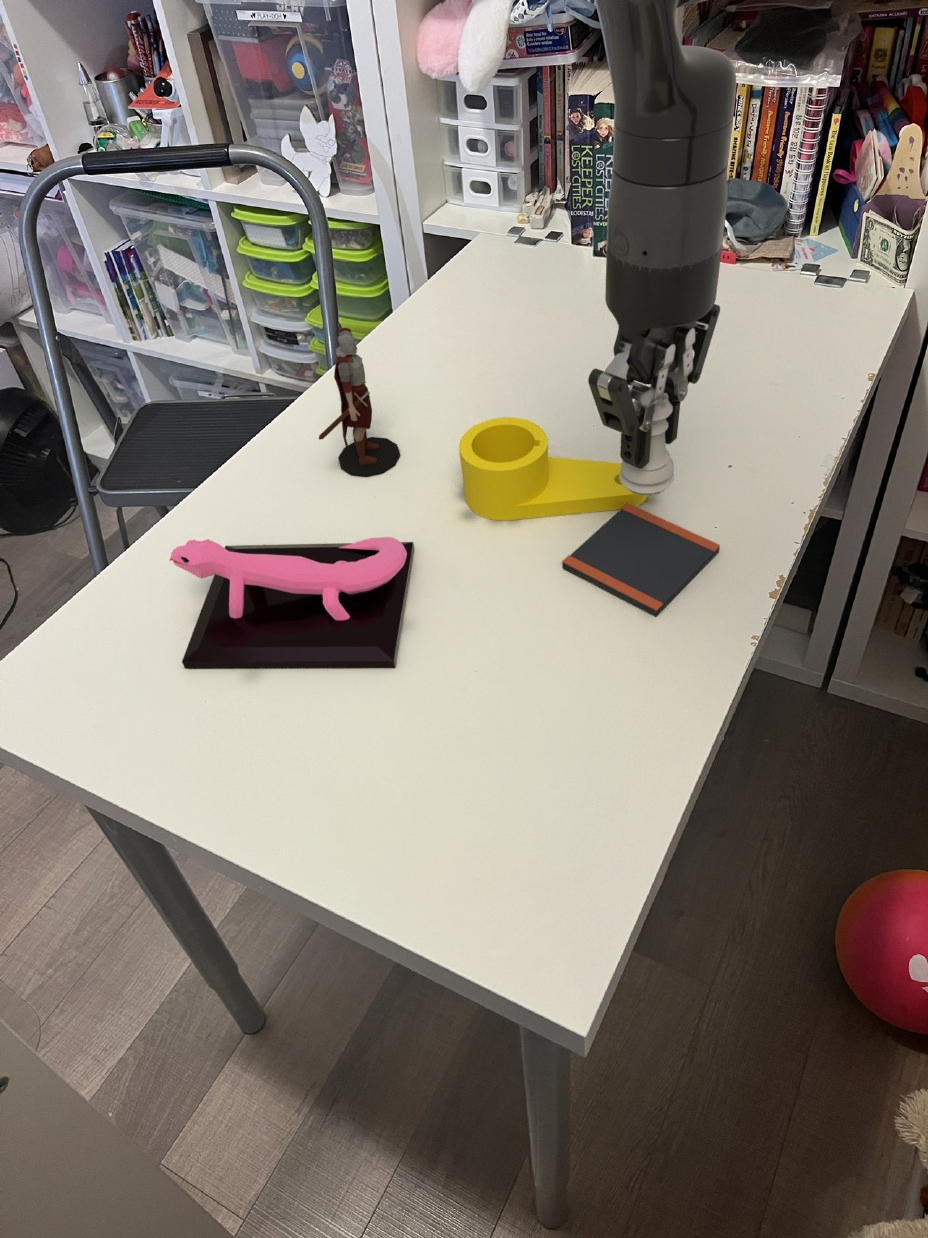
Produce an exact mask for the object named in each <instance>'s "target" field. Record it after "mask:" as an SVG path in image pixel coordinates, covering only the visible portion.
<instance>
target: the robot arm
mask: <svg viewBox="0 0 928 1238" xmlns="http://www.w3.org/2000/svg"><path fill="white" fill-rule="evenodd" d="M706 1H707V0H594V3H595V7H596V10H597V11H596V12H597V15H598V20H599V25H600V29H601V34H602V38H603V43H604V49H605V54H606V55H605V56H606V61H607V65H608V70H609V75H610V81H611V87H612V94H613V103H614V105H613V106H614V107H613V108H614V109H613V110H614V111H613V145H612V149H613V150H612V153H613V154H612V170H611V180H610V187H609V191H608V199H607V215H606V216H607V217H606V219H607V221H606V252H605V253H606V256H605V258H606V259H605V295H604V296H605V297H604V299H605V304H606V308H607V309H608V311H609V312H610V313H611V315H612V316H613V317H614V320H615V321H616V323H617V326H618V329H617V334H616V338H615V341H614V344H613V356H614V358H613V359H612V360H611V361H610V363H609V364H608V365H607V367H606V368H605V370H601V369H599V368H593V369H592V370H591V371H590V373H589V375H588V378H587V382H588V386H589V389H590V391H591V394H592V398H593V400H594V403H595V406H596V409H597V413H598V414H599V417H600V421H601V423H602V426H604V427H607V428H609V429H612V430H614V431H616V432H618V433H620V447H619V448H620V451H619V456H620V459H621V461H622V460H623V461H624V462H625V463H628V464H630V465H632V466H635V467H637V468H640V469H642V468H644V467H645V466H646V465H647V464H648V463H649V459H650V445H651V431H652V426H651V424H652V419H653V414H654V408H655V403H656V402H657V401H659V400H661V399H662V398H663V394H664V393H667V395H668V401H669V402H670V403H671V405H672V406H673V411H672V413H671V414H670V415H669V416H668V417H667V418H666V421H667V422H668V428H667V430H666V431H665V444H666V445H670V444H672V443H673V442H674V441H676V440H677V438H678V433H679V432H678V431H679V422H680V421H679V420H680V411H681V402H683V401H684V400H685V399H686V398H687V395H688V391H689V386H688V385H689V384H693V385H695V384H697V383H698V382H699V380H700V379H701V375H702V372H703V368H704V366H705V363H706V359H707V355H708V352H709V348H710V345H711V342H712V340H713V336H714V332H715V329H716V325H717V323H718V320H719V316H720V313H721V306H720V305H718V304H715V303H716V300H717V292H718V284H719V277H720V268H721V267H720V266H721V258H722V250H723V244H724V235H725V226H726V220H727V219H726V218H727V210H728V209H727V208H728V169H729V167H728V166H729V158H730V148H731V141H732V132H733V125H734V124H733V123H734V115H735V106H736V105H735V104H736V94H737V93H736V92H737V74H736V70H735V67H734V66H735V65H734V64H733V62H732V60H731V59H730V58H729V57H728V56H727V55H726V54H724V53H723V52H721V51H720V50H717V49H713V48H711V47H706V46H705V47H704V46H698V45H684V44H683V45H681V42H680V39H679V35H678V30H677V21H676V16H677V8H681V7H686V6H690V5H693V4H694V5H695V4H697V3H702V2H706ZM649 385H650V386H649ZM633 400H634V401H635V400H638V401H640V402H641V411H640V412H638V411H635V408H634V405H633V402H634V401H633Z"/></svg>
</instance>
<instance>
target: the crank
mask: <svg viewBox="0 0 928 1238" xmlns="http://www.w3.org/2000/svg"><path fill="white" fill-rule="evenodd" d="M458 450H459V451H458V452H459V459H460V466H461V476H462V483H463V492H464V493H463V494H464V499H465V503H466V505H467V506H468V508H469V509H470V510H471V511H472V512H473V513H474V514H476V515H478V516H479V517H482V518H485V519H488V520H493V521H501V522H502V521H504V522H505V521H515V520H516V521H517V520H526V519H535V518H545V517H555V516H557V517H558V516H567V515H576V514H587V513H596V512H597V513H598V512H606V511H616V510H621V508H622V507H623V506H624V505H625V504H626V503H629V504H631V505H633V506H635V507H638V506H641V505H643V503H645V501H646V500H647V499H648V497H649V495H638V494H635V493H632V492H631V491H629V490H628V489H626V488H625V487H624V486H623V484H622V483H621V481H620V479H619V477H620V471H621V463H622V462H609V461H600V460H589V459H580V458H566V457H559V456H558V457H557V456H549V441H548V435H547V433H546V432H545V430H544V429H543V428H542V427H541V426H539V425H538V424H537V423H535V422H533V421H530V420H529V419H525V418H520V417H511V416H510V417H509V416H508V417H507V416H504V417H497V418H496V417H495V418H490V419H487V420H484V421H481V422H478V423H476V424H474V425H473V426H471V427H470V428H469V429H467V430H466V431H465V433H463V435H462V436H461V438H460V440H459V444H458Z"/></svg>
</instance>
